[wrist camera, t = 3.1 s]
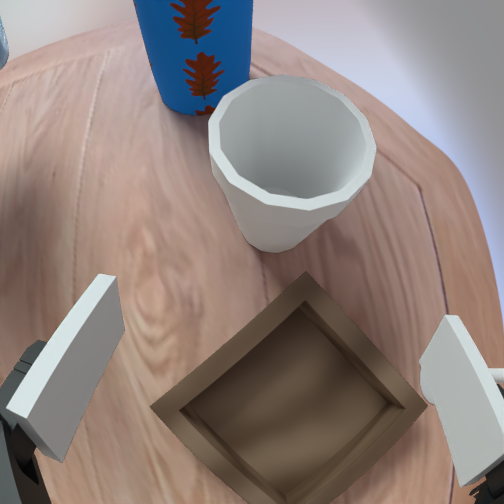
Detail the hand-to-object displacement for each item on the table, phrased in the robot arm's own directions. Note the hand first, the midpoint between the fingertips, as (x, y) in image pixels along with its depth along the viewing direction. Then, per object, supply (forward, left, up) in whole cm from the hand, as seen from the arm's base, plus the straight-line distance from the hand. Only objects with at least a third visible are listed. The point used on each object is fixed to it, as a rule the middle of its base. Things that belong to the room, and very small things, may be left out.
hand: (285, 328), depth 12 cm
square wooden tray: (+6, -2, -15) cm, 16 cm away
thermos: (-25, +14, -15) cm, 32 cm away
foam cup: (-7, +8, -15) cm, 18 cm away
